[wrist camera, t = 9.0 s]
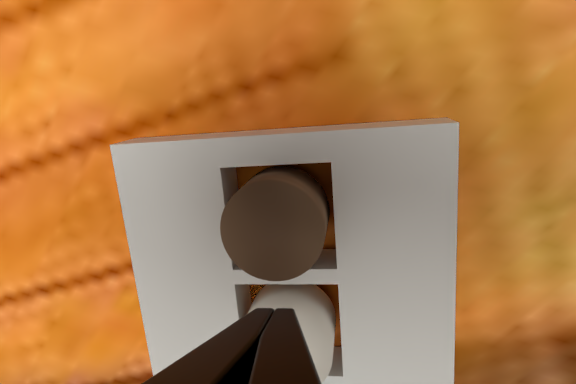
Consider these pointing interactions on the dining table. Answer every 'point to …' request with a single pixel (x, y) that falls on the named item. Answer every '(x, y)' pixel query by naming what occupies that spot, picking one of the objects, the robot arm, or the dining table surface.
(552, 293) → the dining table surface
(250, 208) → the key walnut
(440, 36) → the dining table surface
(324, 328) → the key ivory
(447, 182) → the keypad
